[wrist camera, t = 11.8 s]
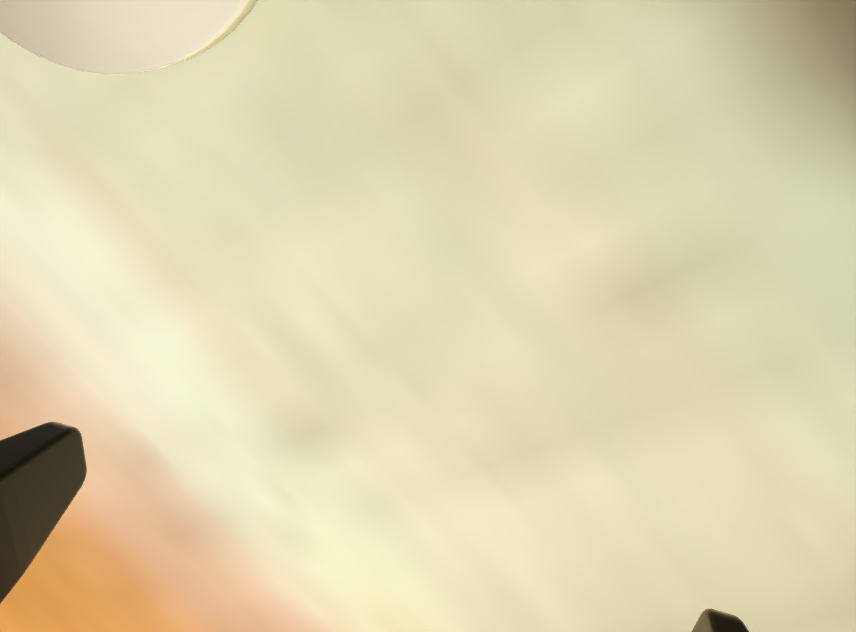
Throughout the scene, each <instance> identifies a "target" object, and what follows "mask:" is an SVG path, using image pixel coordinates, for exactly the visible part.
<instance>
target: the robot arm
mask: <svg viewBox="0 0 856 632" xmlns="http://www.w3.org/2000/svg"><path fill="white" fill-rule="evenodd" d="M86 471H87V468H86V461H85V454H84V448H83V441H82V436H81V433H80V431H79V430H78V429H77V428H75V427H72V426H68V425H65V424H61V423H57V422H48V423H45V424H42V425H40V426H37V427H34V428H32V429H29V430H27V431H24V432H21V433H19V434H16V435H14V436H11V437H8V438H6V439H3V440H1V441H0V603H1V602H2V601H3V599H4V598H5V597H6V596H7V594H8V593H9V592H10V591H11V589H12V588H13V587H14V585H15V584H16V583H17V582H18V580H19V579H20V578H21V576H22V575H23V574H24V572H25V571H26V569H27V568H28V567H29V565H30V564H31V562H32V561H33V559H34V558H35V556H36V555H37V553H38V552H39V550H40V549H41V547H42V546H43V544H44V543H45V541H46V540H47V538H48V536H49V535H50V533H51V532H52V530H53V529H54V527H55V526H56V524H57V523H58V521H59V520H60V518H61V517H62V515H63V514H64V512H65V511H66V509H67V508H68V506H69V505H70V503H71V501H72V500H73V498H74V497H75V495H76V494H77V492H78V491H79V489H80V488H81V486H82V484H83V482H84V480H85V477H86ZM692 632H749V631H748V629H747V628H746V626H745V625H744V623H743V622H742V621H741V620H740V619H739V618H738V617H736V616H734V615H731V614H728V613H724V612H721V611H717V610H714V609H706V610H705V611H703V612H702V614H701V615H700V617H699V619H698V621H697V623H696V625H695V626H694V628H693V630H692Z"/></svg>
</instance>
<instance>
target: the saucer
mask: <svg viewBox="0 0 856 632" xmlns="http://www.w3.org/2000/svg"><path fill="white" fill-rule="evenodd" d="M257 1H258V0H0V33H2V34H3V35H4V36H6V37H7V38H9V39H10V40H11V41H13V42H14V43H16V44H18V45H20V46H21V47H23V48H25V49H27V50H28V51H30V52H32V53H34V54H35V55H38V56H40V57H42V58H44V59H47V60H49V61H51V62H54V63H56V64H58V65H62V66H65V67H69V68H72V69H76V70H79V71H83V72H90V73H97V74H105V75H120V74H134V73H140V72H145V71H150V70H155V69H158V68H162V67H165V66H169V65H173V64H176V63H179V62H181V61H184V60H187V59H190V58H192V57H195V56H197V55H199V54H201V53H202V52H204V51H206V50H208V49H209V48H211V47H213V46H215V45H216V44H217V43H219V42H220V41H221V40H222V39H223V38H225V37H226V36H227V35H228V34H230V33H231V32H232V31H233V30H234V29H235V28H236V27H237V26H238V25H239V24H240V23H241V21H242V20H243V19H244V18H245V17H246V16H247V15H248V14H249V12H250V11H251V10H252V8H253V7H254V5H255V4H256V2H257Z"/></svg>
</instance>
